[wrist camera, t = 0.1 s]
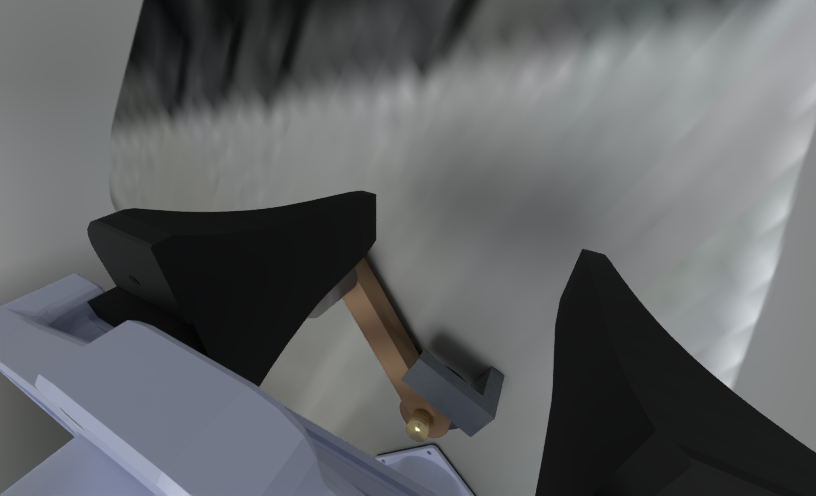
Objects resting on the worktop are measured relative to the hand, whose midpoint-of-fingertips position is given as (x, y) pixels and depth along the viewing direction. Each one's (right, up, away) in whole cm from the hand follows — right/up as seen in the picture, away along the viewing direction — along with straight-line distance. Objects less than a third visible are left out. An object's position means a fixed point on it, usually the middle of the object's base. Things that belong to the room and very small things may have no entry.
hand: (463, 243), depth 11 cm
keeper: (+2, -9, +15) cm, 18 cm away
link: (-3, -8, +16) cm, 18 cm away
